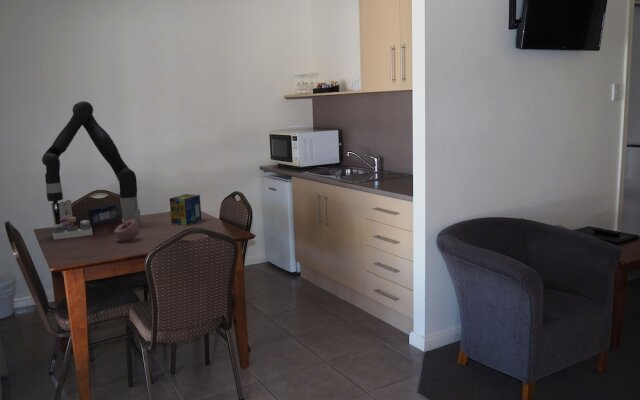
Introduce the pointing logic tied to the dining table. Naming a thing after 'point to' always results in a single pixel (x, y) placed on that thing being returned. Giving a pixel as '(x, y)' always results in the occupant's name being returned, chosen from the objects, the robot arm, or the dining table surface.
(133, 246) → the dining table surface
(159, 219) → the dining table surface
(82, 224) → the plunger
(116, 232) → the mortar and pestle
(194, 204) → the protein box
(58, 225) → the plunger
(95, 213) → the vhs cassette tape
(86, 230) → the grey knob panel
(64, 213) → the candy bar box
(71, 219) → the dial knob
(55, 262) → the dining table surface
